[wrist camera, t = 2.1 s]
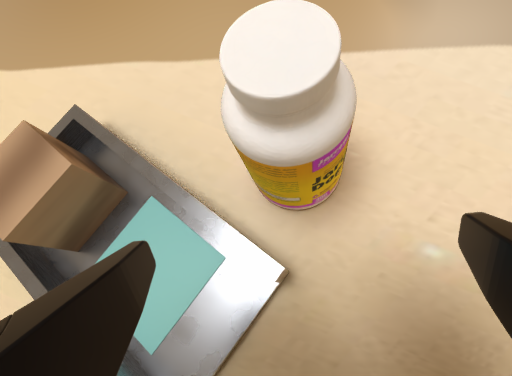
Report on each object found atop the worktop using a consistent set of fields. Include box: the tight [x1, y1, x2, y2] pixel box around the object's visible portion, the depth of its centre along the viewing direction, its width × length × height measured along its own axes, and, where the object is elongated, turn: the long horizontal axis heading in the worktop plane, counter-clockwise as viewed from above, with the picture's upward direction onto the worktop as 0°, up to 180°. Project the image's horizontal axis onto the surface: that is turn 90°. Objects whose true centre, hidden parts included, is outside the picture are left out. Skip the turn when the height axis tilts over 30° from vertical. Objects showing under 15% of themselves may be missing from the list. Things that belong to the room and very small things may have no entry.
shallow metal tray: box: [0, 105, 289, 376], centre depth 22 cm, size 22×12×4 cm, turn 51°
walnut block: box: [0, 120, 128, 252], centre depth 22 cm, size 6×6×6 cm
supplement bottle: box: [220, 0, 356, 210], centre depth 17 cm, size 7×7×13 cm
